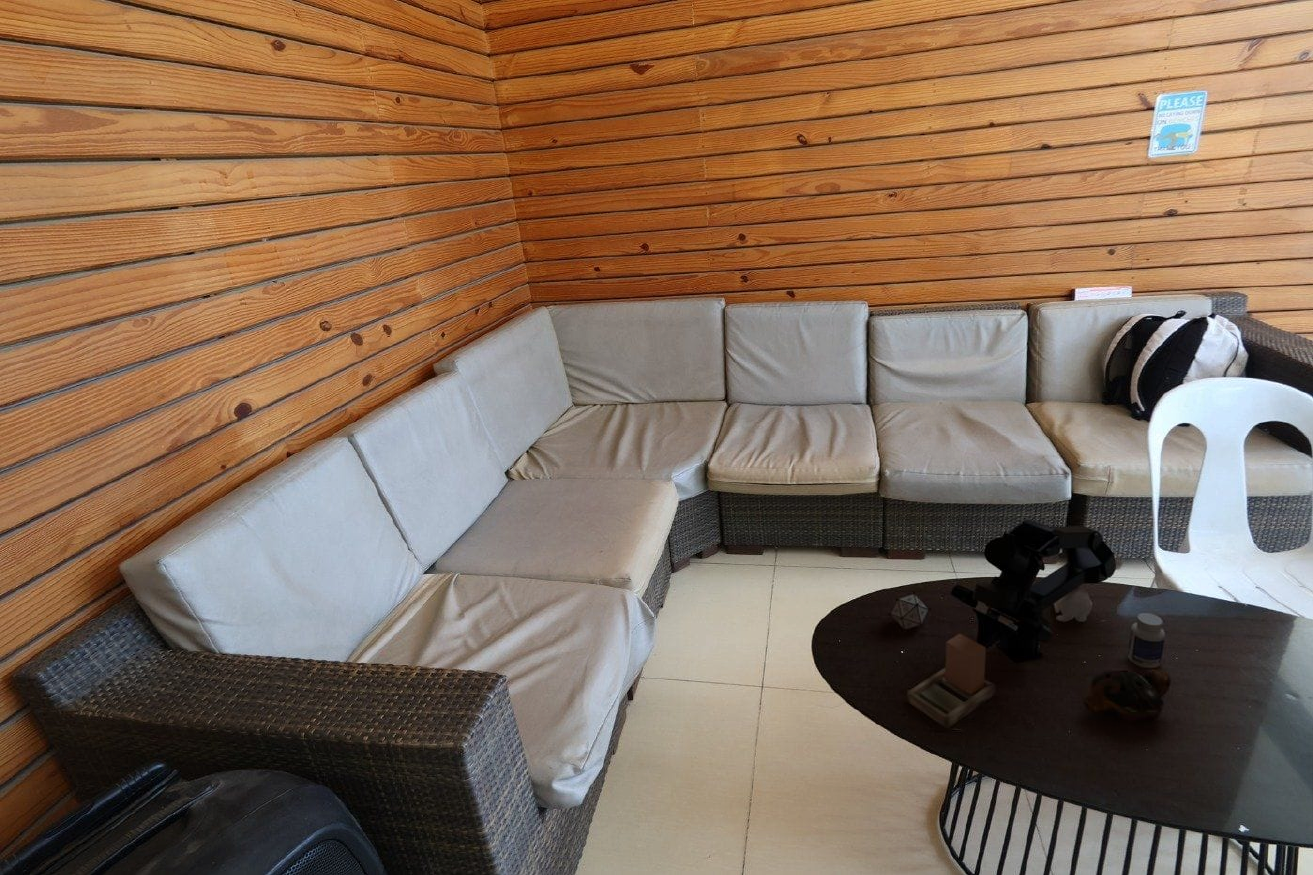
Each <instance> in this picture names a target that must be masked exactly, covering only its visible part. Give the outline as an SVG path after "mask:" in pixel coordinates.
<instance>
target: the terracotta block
mask: <svg viewBox="0 0 1313 875" xmlns="http://www.w3.org/2000/svg"><path fill="white" fill-rule="evenodd" d="M945 644H946V645H945V667H944V668H945V680H946V681H948V682H950V683H951V684H953V685H955V686H956V687H958V688H960V689H961V690H963V691H964V692H966V693H968V694H969V695H971V694H973V693H974V692H976V691H977V690H979V689H980V688H982V687H983V686H984V679H985V670H986V668H985V667H986V651H987V649H986V647H984V646H982V645H980V644H978V643H977V641H974V640H972V639H970V638H969V637H967V636H965V635H963V634H961V633H958V634H956V635H955V636H953V637H952V638H951V639H949V640H947V641H946V643H945Z"/></svg>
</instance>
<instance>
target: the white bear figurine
mask: <svg viewBox="0 0 1313 875" xmlns="http://www.w3.org/2000/svg"><path fill="white" fill-rule="evenodd" d="M1053 605H1054V606H1053V607H1054V610H1055V613H1059V612H1061V614H1059V615H1057V616H1055V619H1056V621H1059V622H1063V623H1065V622H1069V621H1071V620H1073V619H1075V620H1076V621H1077V622H1078V623H1079V622H1080V623H1083V622H1086V621H1087V616H1088V615H1089V614H1091V610H1092V608H1093V602H1092V601H1091V598H1090V595H1089V594H1088V592H1087V591H1086V590H1085V589H1083V588H1082V587H1081V585H1080V586H1079V587H1077V588H1076V589H1074V590H1073V591H1071V592H1070V593H1069V594H1067V595H1066V596H1064V597H1063V598H1061V599H1060V600H1058V601H1057V602H1055V603H1054V604H1053Z"/></svg>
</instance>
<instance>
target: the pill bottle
mask: <svg viewBox="0 0 1313 875" xmlns="http://www.w3.org/2000/svg"><path fill="white" fill-rule="evenodd" d="M1130 627H1131V628H1130V633H1129V634H1130V637H1129V642H1128V650H1127V658H1128V659H1129V661H1130V662H1132V663H1133V664H1135V665H1137V666H1138V667H1142V668H1144V669H1145V668H1146V669H1155V668H1158V667H1160V665H1161V662H1162V656H1163V652H1164V651H1163V650H1164V645H1165V640H1166V639H1165V638H1166V633H1165V630H1164V629H1163V620H1162V618H1161V617H1159V616H1158V615H1156V614H1153V613H1148V612H1147V613H1146V612H1142V613H1139V614H1138V615H1137V617H1136V622H1134V623H1133V624H1132V625H1131V626H1130Z"/></svg>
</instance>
